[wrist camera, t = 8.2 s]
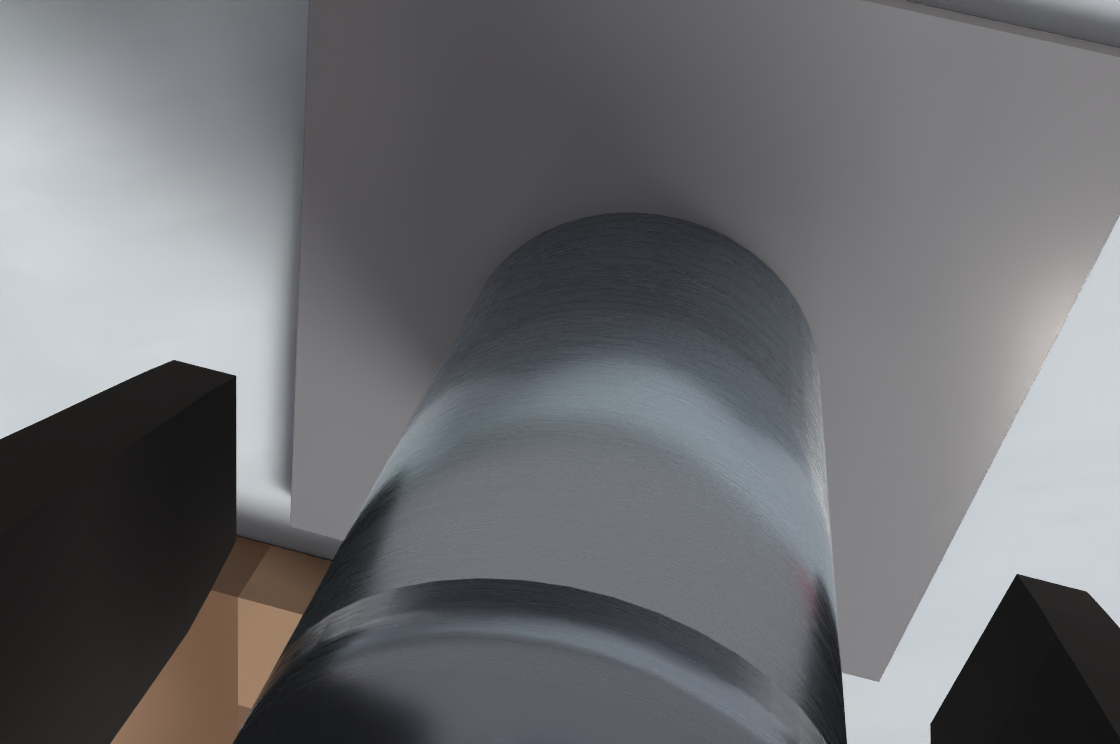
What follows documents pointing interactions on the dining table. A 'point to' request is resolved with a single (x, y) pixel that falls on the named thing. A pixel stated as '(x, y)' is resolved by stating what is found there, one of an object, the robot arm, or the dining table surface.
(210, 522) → the robot arm
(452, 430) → the grey metal cylinder
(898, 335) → the coaster
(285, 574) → the collar
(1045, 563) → the dining table surface
